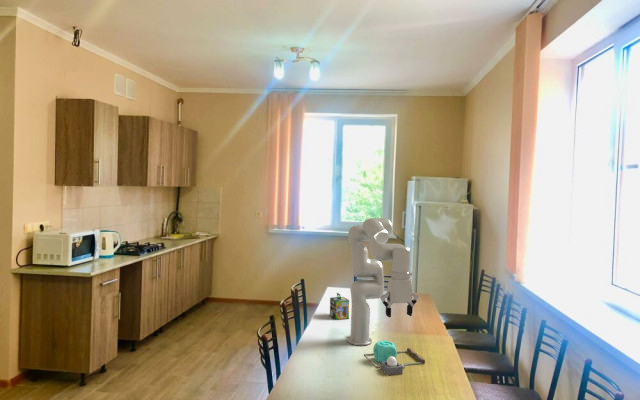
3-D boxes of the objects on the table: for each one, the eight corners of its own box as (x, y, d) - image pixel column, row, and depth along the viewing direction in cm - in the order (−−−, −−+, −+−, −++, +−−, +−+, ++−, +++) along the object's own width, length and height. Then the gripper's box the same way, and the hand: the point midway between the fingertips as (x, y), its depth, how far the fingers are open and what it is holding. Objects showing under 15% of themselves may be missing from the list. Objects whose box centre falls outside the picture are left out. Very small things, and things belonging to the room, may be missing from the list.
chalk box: (349, 319, 266) (350, 294, 266) (335, 320, 263) (336, 295, 262) (342, 314, 275) (343, 290, 274) (329, 315, 272) (330, 291, 271)
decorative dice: (372, 358, 208) (373, 341, 208) (387, 356, 211) (388, 339, 210) (381, 364, 201) (381, 347, 200) (396, 362, 203) (397, 345, 203)
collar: (380, 368, 196) (381, 361, 196) (395, 367, 198) (395, 360, 198) (387, 375, 190) (387, 368, 190) (402, 373, 192) (402, 366, 192)
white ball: (385, 364, 195) (385, 355, 195) (393, 364, 197) (394, 354, 196) (389, 368, 191) (389, 358, 191) (398, 368, 193) (398, 358, 192)
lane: (362, 353, 213) (362, 349, 213) (406, 349, 220) (407, 346, 220) (379, 370, 194) (379, 366, 194) (427, 365, 201) (427, 362, 201)
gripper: (414, 273, 194) (413, 312, 194) (377, 274, 189) (376, 314, 189) (423, 276, 186) (421, 317, 187) (385, 278, 181) (383, 319, 182)
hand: (398, 315), depth 188 cm, fingers open, 9 cm apart
